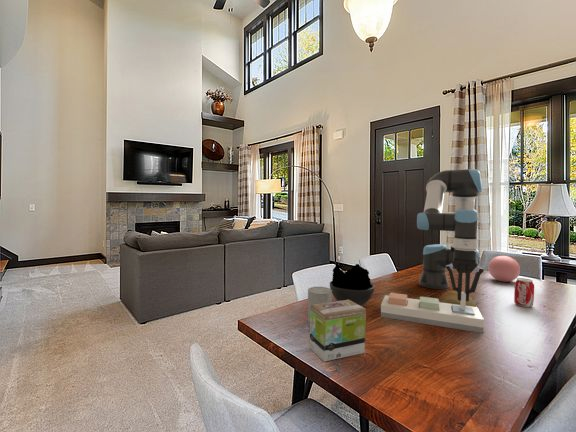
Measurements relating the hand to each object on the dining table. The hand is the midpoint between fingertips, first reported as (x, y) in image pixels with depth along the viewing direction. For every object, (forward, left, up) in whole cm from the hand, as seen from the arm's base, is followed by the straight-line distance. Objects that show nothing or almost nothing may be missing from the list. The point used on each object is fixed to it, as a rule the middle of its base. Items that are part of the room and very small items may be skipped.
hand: (462, 308), depth 118 cm
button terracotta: (0, -24, -2) cm, 24 cm away
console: (0, -12, -6) cm, 13 cm away
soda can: (-35, +28, -6) cm, 45 cm away
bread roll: (-18, 0, -6) cm, 19 cm away
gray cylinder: (+21, -52, -6) cm, 56 cm away
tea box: (+42, -39, -6) cm, 58 cm away
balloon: (-83, +30, -6) cm, 89 cm away
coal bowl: (-1, -44, -6) cm, 44 cm away
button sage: (0, -12, -2) cm, 12 cm away
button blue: (0, 0, -3) cm, 3 cm away
